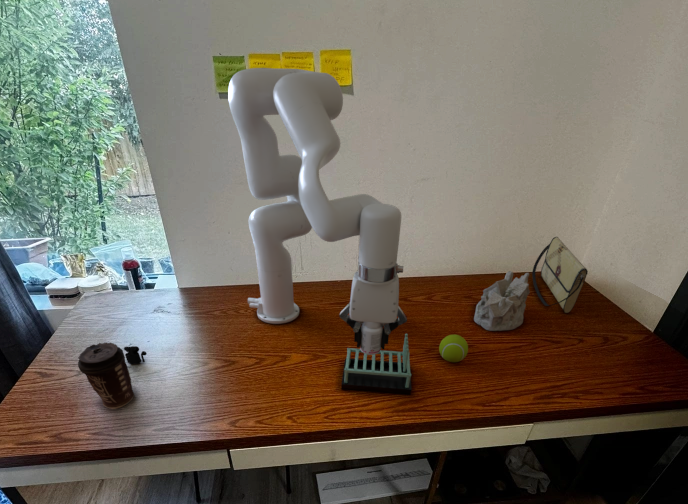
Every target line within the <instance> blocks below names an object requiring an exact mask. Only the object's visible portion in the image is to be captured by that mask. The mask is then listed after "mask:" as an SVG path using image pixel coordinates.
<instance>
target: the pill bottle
mask: <svg viewBox="0 0 688 504" xmlns="http://www.w3.org/2000/svg"><path fill="white" fill-rule="evenodd" d="M383 328H384V326H382V323H378V322H363V324H361V341H360V347H359V349H361V351H362V352H363V353H362V354H364V353H365V354H367V356H369V355H370V356H372V355H375V356H376V355H378V354H377V353H379V352H380V351H381V350H382V349H381V344H382V333H383Z"/></svg>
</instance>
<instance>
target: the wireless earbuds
mask: <svg viewBox="0 0 688 504" xmlns="http://www.w3.org/2000/svg"><path fill="white" fill-rule="evenodd" d="M123 351H125V352H126V353H124V356H125V360H126V362H127V364H130V365H139V364H141V363H146V360H145V357H144V356H146V355H148V354H147V352H146V351H145V350H142V351H141V353H139V352H140V347H139V346H134V345H132V346H131V345H130V346H124V347H123Z"/></svg>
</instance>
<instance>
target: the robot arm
mask: <svg viewBox="0 0 688 504" xmlns="http://www.w3.org/2000/svg"><path fill="white" fill-rule="evenodd" d="M227 94H228V95H227V99H228V105H229V110H230V114H231V117H232V119H233V122H234V124H235V127H236V129H237V132H238V136H239V140H240V144H241V150H242V155H243V163H244V168H245V174H246V175H245V176H246V180H247V184H248V189H249V191H250V194H251V196H252V197H253V198H255V199H256V200H259V201H267V200H274V199H280V198H285V197H286V200H287V201H286V200H285V201H283V202H275V203H271V204H267V205H262V206H259V207H257V208H255V209H253V210H252V211H251V212H250V214H249V216H248V222H247V223H248V229H249V232H250V235H251V239H252V243H253V246H254V253H255V259H256V268H257V276H258V277H257V278H258V285H259V292H260V293H259V294H260V297H258V298H256V297H248V298H247V305H249V308H250V309H257V310H256V316H257V318H258V319H259V320H261V321H262V322H264V323H267V324H270V325H271V324H273V325H279V324H280V325H281V324H286V323H290V322H292V321H294V320H296V319H297V318H298V317H299V315H300V307H299V305H297V304H296V303H295V302H294V301H295V300H294V299H295V298H294V282H293V281H294V280H293V264H292V255H291V253H290V252H289V250H288V249H287V248H286V247H285V246H284V244H283V243H284V242H286V241H288V240H292V239H295V238H299V237H302V236H305V235H308V234H309V233H310V232H311V231H312V230H313V231H314V232H315V234H316V235H317V236H318V238H320V239H321V240H322V241H324V242H327V243H333V242H338V241H341V240H345V239H348V238H352V237H358V236H359V239H358V240H359V241H358V258H357V259H358V261H357V271H355V272H354V273H353V278H352V282H351V288H350V299H349V302H348V303H347V305H346V306H345V307H344V308H343V309H341V311H340V312H339V314H338V317H339V319H341V320H342V321H343V322H345V323H346V324H347V325H348V326H349V327H350V328H351V329H352V330H353V333H354V334H353V335H354V337H353V342H354V343H356V348H357V349H360V341H361V326H362V321H363V322H378V323H383V325H384V326H383V333H382V344H381V350H385V347H386V345H389V338H390V335H391V333H392V332H393V331H395V330H396V329H397V328H398V327H399V326H401V325H404V324H405V323H407V322H408V317H407V315H406V314H405V313H404V311H403V309H402V308H401V307H400V306H399V300H400V278H399V275H398V274H400V273H404V265H400V264H399V263H398V262H397V261H398V254H399V246H400V245H399V243H400V235H401V227H402V226H401V225H402V211H401V210H400V209H399V207H397V206H395V205H393V204H389V203H383V202H381V201H380V200H379V199H377V198H375V197H373V196H372V195H370V194H366V193H359V194H358V193H357V194H354V195H348V196H343V197H339V198H334V199H329V198H328V195H327V193H326V192H325V190H324V187H323V185H322V182H321V179H320V171H321V169H322V168H324V167H325V166H326V165H328V164H329V163H330V162H331V161H333V159H334V158H335V157H336V155H337V154H338V152H339V151H340V149H341V139H340V136H339V134H338V133H337V130H336V129H335V126H334V124H333V123H332V121H334V120H335V119H337V118H338V117H339V116H340V114H341V113H342V110H343V106H344V96H343V90H342V88H341V86H340V84H339V82H338V81H337V79H336V78H335V77H334V76H333V75H331V74H330V73H328V72H319V71H314V70H313V71H312V70H306V69H301V68H300V69H299V68H271V67H252V68H246V69H241V70H239V71H237V72H235V73H234V74H233V75H232V77H231V78H230V81H229V84H228V88H227ZM278 115H279V118H280V119H281V121H282V123H283V125H284V127H285V129H286V132H287V134H288V135H289V137H290V139H291V141H292V143H293V145H294V147H295V149H296V152H297V154H298V155H299V156H298V155H296V154H282V155H281V154H280V151H279V144H278V143H279V142H278V136H277V134H276V131H275V130H274V128H273V127H272V125H271V123H270V122H269V121H268V120H267V119H266V118H265V116H278Z"/></svg>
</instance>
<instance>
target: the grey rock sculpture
mask: <svg viewBox="0 0 688 504" xmlns="http://www.w3.org/2000/svg"><path fill="white" fill-rule="evenodd" d="M529 276H530V273H529V272H526V273H524V275H523V274H522V275H521V276H520V277H519V278H518V277H517V276H516V277H515V278H514V272H513V271H512V270H508V271H507V272H506V274H505V275H504V279H500V280H497V281H495V282H494V283H493V284H492V285H490V286H489V287H487V288H484V289H482V292H483V294H482V295H481V296H480V299H481V300H480V301H478V303H477V304H476V306H475V312H474V316H473V322H475V323H476V324H477V325H478V326H480V327H482V328H483V329H484V330H486V331H490V332H497V331H499V332H502V331H512V330H515V329H517V328H518V327H520V326H521V325H522V324H523V323H524V319H525V318H524V317H525V316H524V314H525V311H526V308H527V307H526V306H527V304H526V302H527V299H528V296H529V295H530V292H531V291H530V288H529V286H530V283H529ZM513 278H514V279H513Z"/></svg>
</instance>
